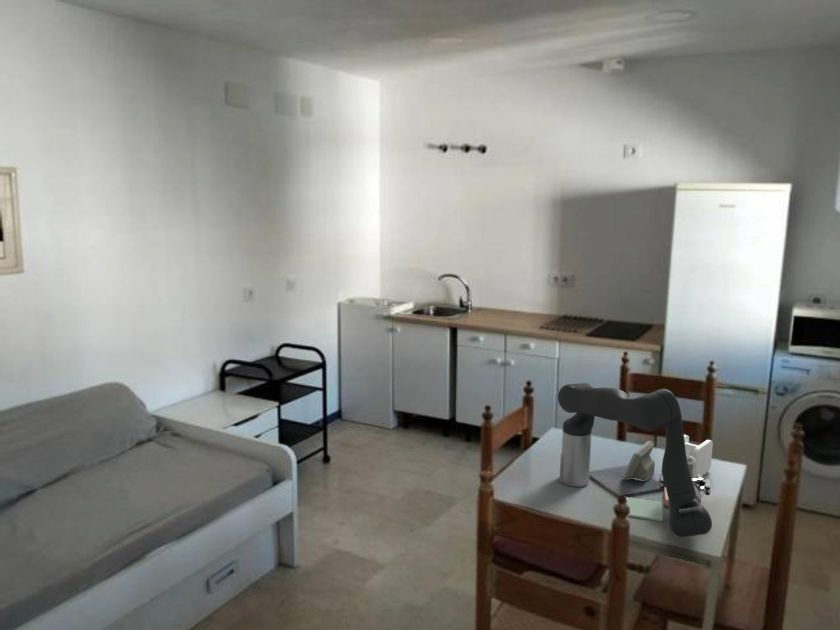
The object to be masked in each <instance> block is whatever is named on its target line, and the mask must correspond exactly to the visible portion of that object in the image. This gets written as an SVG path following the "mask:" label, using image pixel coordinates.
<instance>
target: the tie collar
mask: <svg viewBox="0 0 840 630" xmlns="http://www.w3.org/2000/svg"><path fill="white" fill-rule="evenodd" d="M663 493H664V494H663V495H664V496H663V497H664V506H665V507H669V499H668V494H667V491H666V487H665V489H663Z"/></svg>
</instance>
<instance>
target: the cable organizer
mask: <svg viewBox="0 0 840 630" xmlns="http://www.w3.org/2000/svg"><path fill="white" fill-rule="evenodd" d="M684 441H685V450H686V455H687V456H691V457H693V458H695V459H696V463H695V464H694V466H693V477H692V479H694V478H697V474H700V475H701V476H702V477H703V476H705V475H706V474H707V473H708V472H709V471H710V469H711V467H712V456H713V448H714V447H713V446H714V445H713V444H714V443H713V440H710V439H706V440H705V441H703V442H702V443H700V444H698V445H697V444H694V443H690V436H689V435H687V434H684Z"/></svg>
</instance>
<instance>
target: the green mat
mask: <svg viewBox="0 0 840 630" xmlns="http://www.w3.org/2000/svg"><path fill="white" fill-rule="evenodd" d="M625 497H626V500H627V504H628V506H629V507H630V515H629V516H628V517H630V518H631V517H632V518H639V519H644V520H649V521H650V520H651V521H657V522H664V521H663V518H664V517H663V504H662V501H658V500H649V499H643V498H636V497H635V498H634V497H627V496H625Z"/></svg>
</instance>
